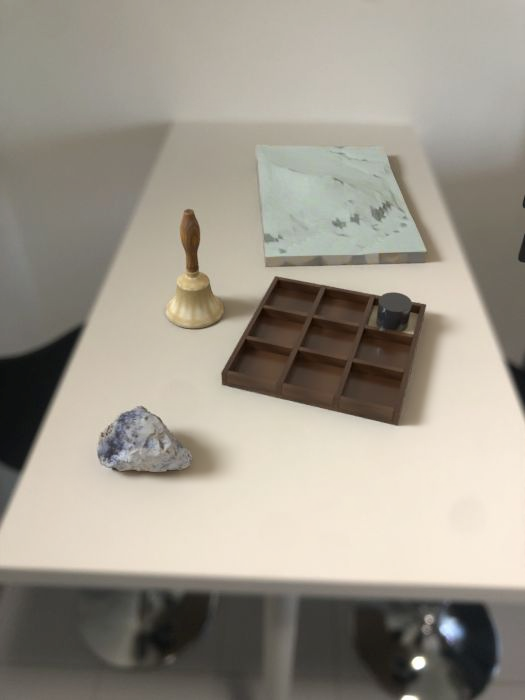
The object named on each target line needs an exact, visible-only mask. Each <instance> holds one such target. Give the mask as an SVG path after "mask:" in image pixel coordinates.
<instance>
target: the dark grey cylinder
mask: <svg viewBox="0 0 525 700" xmlns="http://www.w3.org/2000/svg"><path fill="white" fill-rule="evenodd" d="M380 296H381V297H380V298H379V303H378V310H377V317H376V324H377V326H378V327H379V328H384V329H389V330H394V331H399V332H402V331H404V330H406V329H407V327H408V324H409V319H410V313H411V308H412V302H413V301H412V299H411V298H410V297H409V296H407V295H405V294H404V293H400V292H394V291H392V292H386V293H384V294H382V295H380Z"/></svg>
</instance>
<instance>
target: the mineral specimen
mask: <svg viewBox="0 0 525 700" xmlns="http://www.w3.org/2000/svg"><path fill="white" fill-rule="evenodd" d="M96 455H97V458H98V460H99V463H100V465H101V466H104V467H105V468H107V469H112V468H115V469H116V470H117V471H119V472H125V471H131V470H134V471H137V472H141V471H143V472H145V471H146V472H148V471H149V472H152V473H160V472H161V473H163V472H167V470H169V471H177V470H178V471H182V470H184V469H186V468H188V467H190V465H191V462H192V460H193V455H192V453H191V452H190V450H189V449H187V448H186V447H184V446H183V445H182V444H181V442H179V441H178V440H177V438H176V437H175V436H174V435H173V432H171V431H170V430H169V428H168V427H167V425H166V424H165V423H164V421H163V420H162V419H161V418H160V416H158V415H156V414H154V413H152V412H151V411H148V408H147V407H145V406H143V405H137V406H135V407H133V409H131V410H128V411H124V412H120V413H119V415H117V416H116V417H115V419H114V421H113V422H111V423H110V424H108V425H107V426H106V427H105V428H104V429H103V431H101V432H100V433H99V435H98V442H97V446H96Z"/></svg>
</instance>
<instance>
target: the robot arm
mask: <svg viewBox="0 0 525 700" xmlns="http://www.w3.org/2000/svg"><path fill="white" fill-rule="evenodd" d="M521 206H522V208H523V209H525V195H524V196H523V199H522V205H521ZM519 247H520V248H519V250H518V255H517V260H518V261H519V262H520V263H525V233H524V234H523V238H522V241H521V244H520V246H519Z"/></svg>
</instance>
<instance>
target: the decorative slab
mask: <svg viewBox="0 0 525 700" xmlns="http://www.w3.org/2000/svg"><path fill="white" fill-rule="evenodd" d="M255 166H256V179H257V189H258V190H257V191H258V199H259V200H258V201H259V209H260V210H259V211H260V223H261V233H262V245H263V246H262V247H263V257H264V267H265V268H269V267H271V268H272V267H275V268H276V267H305V266H306V267H307V266H312V267H313V266H342V265H343V266H346V265H347V266H348V265H382V264H383V265H385V264H418V263H419V264H420V263H426V259H427V254H428V250H427V247H426V245H425V243H424V240H423V239H422V236H421V233H420V232H419V229H418V228H417V225H416V222H415V221H414V219H413V216H412V214H411V213H410V210H409V208H408V205H407V204H406V201H405V198H404V196H403V194H402V191H401V189H400V187H399V184H398V182H397V180H396V178H395V175H394V173H393V170H392V166H391V163H390V161H389V157H388V155H387V152H386V150H385V147H384V145H375V146H374V145H373V146H372V145H371V146H367V145H365V146H360V145H347V146H346V145H345V146H338V145H337V146H320V145H273V144H258V143H256V144H255Z"/></svg>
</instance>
